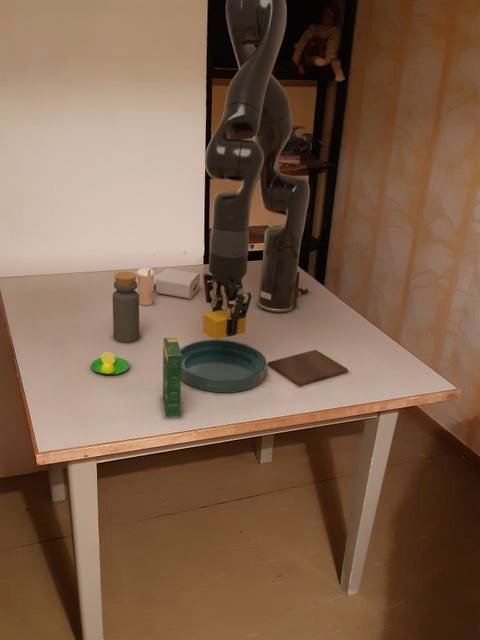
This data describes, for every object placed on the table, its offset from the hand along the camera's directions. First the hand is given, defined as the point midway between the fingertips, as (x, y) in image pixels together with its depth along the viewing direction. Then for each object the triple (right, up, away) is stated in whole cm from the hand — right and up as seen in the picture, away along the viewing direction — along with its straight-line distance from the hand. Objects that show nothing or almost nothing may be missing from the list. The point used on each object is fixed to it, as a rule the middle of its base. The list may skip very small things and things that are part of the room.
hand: (224, 329), depth 139 cm
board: (+18, -7, +9) cm, 22 cm away
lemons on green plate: (-24, -8, +3) cm, 26 cm away
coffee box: (-10, -17, -9) cm, 21 cm away
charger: (-16, +17, +43) cm, 49 cm away
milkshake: (-21, +11, +34) cm, 41 cm away
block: (0, 0, 0) cm, 1 cm away
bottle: (-23, 0, +16) cm, 28 cm away
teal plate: (-1, -8, +5) cm, 10 cm away
